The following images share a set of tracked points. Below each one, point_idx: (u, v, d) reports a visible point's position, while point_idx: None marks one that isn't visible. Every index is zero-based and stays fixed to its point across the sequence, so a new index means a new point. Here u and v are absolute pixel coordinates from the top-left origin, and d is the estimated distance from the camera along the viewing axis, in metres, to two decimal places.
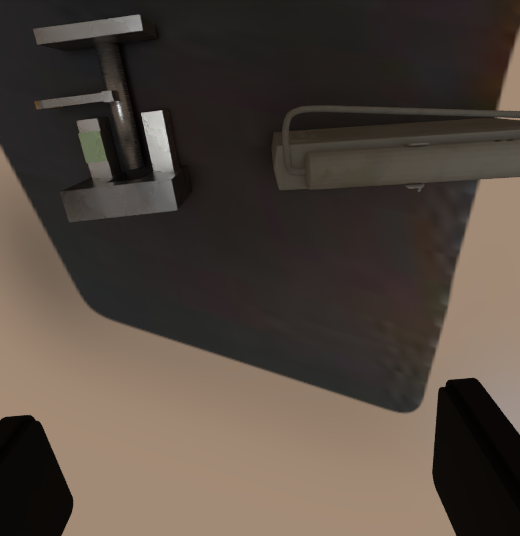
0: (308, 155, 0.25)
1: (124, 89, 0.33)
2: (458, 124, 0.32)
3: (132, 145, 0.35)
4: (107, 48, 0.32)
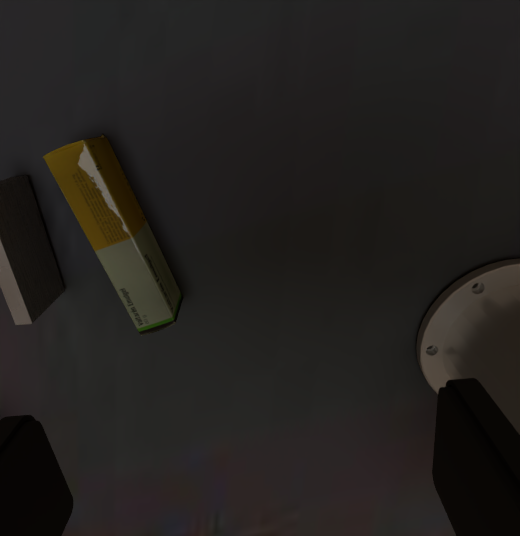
0: None
1: None
2: None
3: None
4: None
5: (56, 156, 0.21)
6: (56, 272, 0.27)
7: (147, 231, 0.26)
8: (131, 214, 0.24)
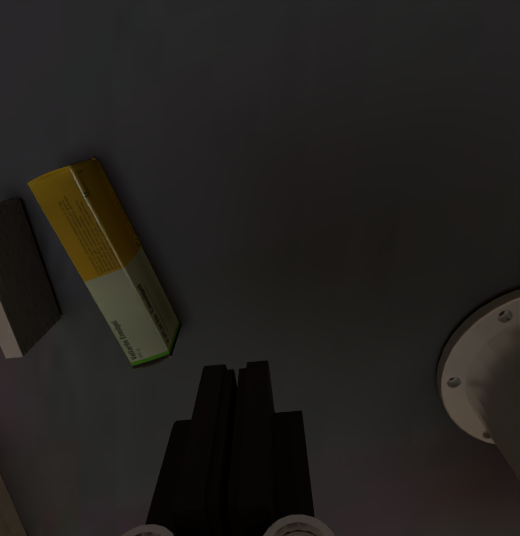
0: None
1: None
2: None
3: None
4: None
5: (41, 183, 0.20)
6: (51, 299, 0.26)
7: (142, 258, 0.24)
8: (122, 242, 0.22)
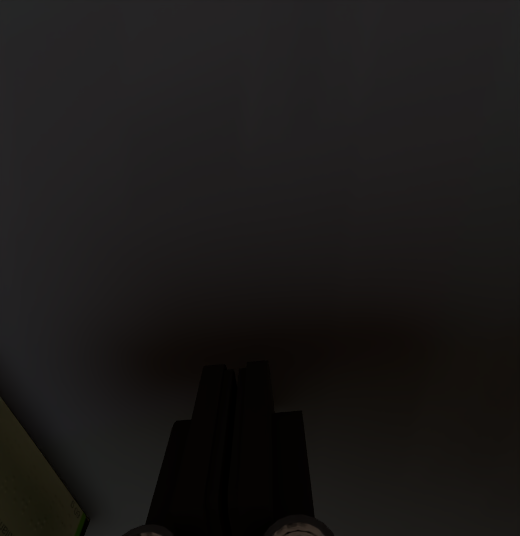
0: None
1: None
2: None
3: None
4: None
5: None
6: None
7: None
8: None
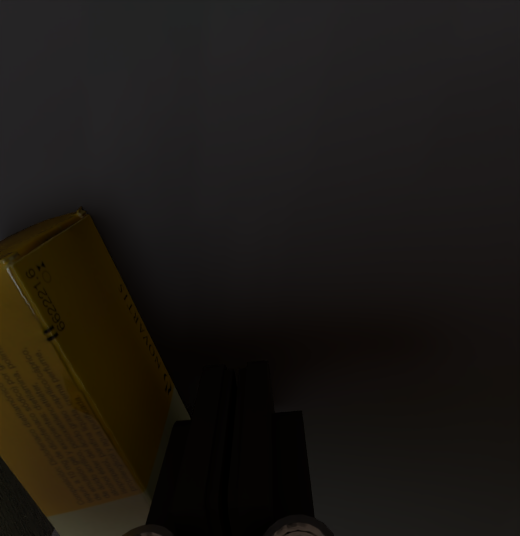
0: None
1: None
2: None
3: None
4: None
5: None
6: None
7: (176, 419, 0.11)
8: (141, 413, 0.10)
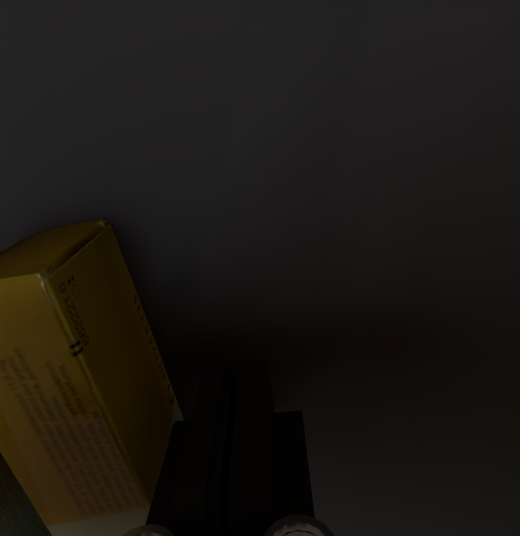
0: None
1: None
2: None
3: None
4: None
5: None
6: None
7: None
8: (148, 426, 0.10)
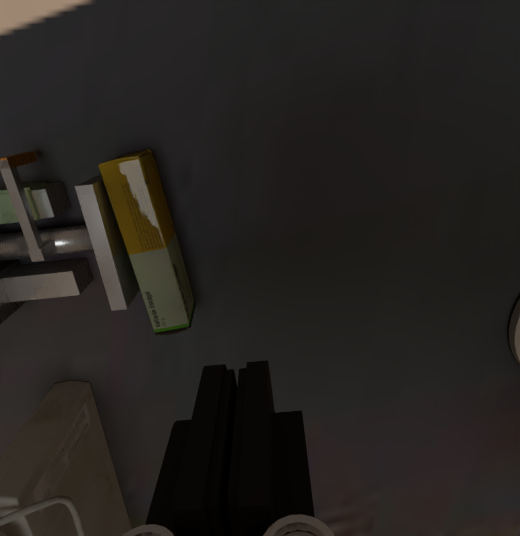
0: None
1: (63, 253, 0.27)
2: None
3: None
4: None
5: (110, 166, 0.23)
6: None
7: (175, 241, 0.28)
8: (165, 225, 0.26)
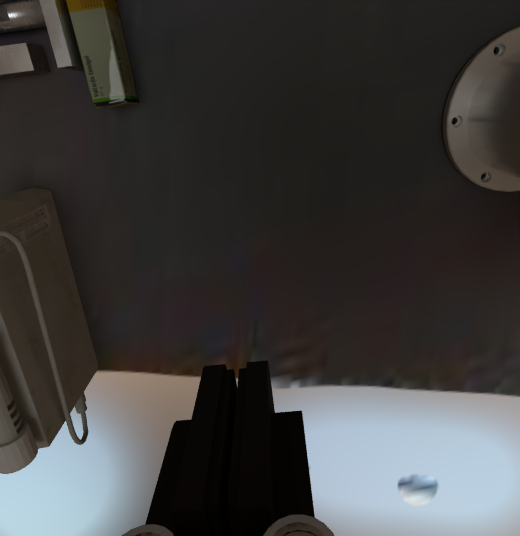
0: None
1: (16, 27, 0.29)
2: (68, 355, 0.37)
3: None
4: None
5: None
6: None
7: (118, 23, 0.30)
8: None
